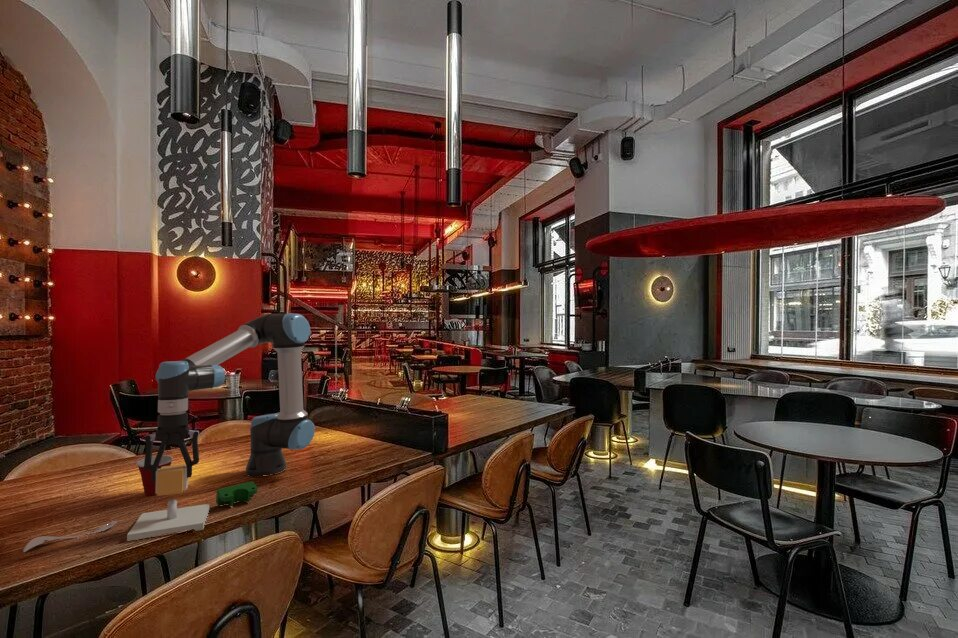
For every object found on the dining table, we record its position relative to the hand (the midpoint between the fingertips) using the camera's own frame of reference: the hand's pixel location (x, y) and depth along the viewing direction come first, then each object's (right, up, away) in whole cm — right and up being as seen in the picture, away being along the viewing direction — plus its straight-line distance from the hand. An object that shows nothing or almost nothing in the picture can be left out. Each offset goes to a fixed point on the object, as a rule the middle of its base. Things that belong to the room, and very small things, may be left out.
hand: (171, 490), depth 136 cm
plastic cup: (-24, -11, +26) cm, 37 cm away
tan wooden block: (0, 0, 0) cm, 0 cm away
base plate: (0, -10, 0) cm, 10 cm away
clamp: (+11, -11, +16) cm, 22 cm away
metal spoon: (-22, -11, -9) cm, 26 cm away
